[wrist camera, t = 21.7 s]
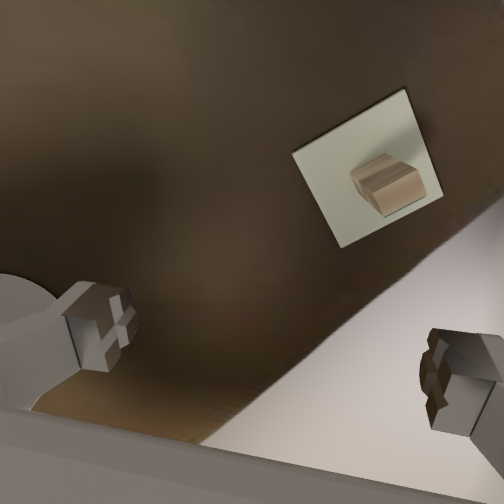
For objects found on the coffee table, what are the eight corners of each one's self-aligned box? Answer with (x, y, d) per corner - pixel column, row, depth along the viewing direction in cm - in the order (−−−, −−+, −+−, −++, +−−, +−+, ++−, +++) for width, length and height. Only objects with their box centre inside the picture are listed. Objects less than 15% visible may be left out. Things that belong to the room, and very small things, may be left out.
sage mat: (339, 246, 42) (341, 248, 42) (291, 153, 38) (292, 154, 37) (440, 194, 40) (443, 195, 40) (402, 89, 36) (404, 89, 35)
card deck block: (394, 175, 39) (428, 196, 32) (359, 195, 39) (384, 219, 33) (385, 153, 38) (417, 169, 31) (348, 173, 38) (372, 193, 32)
